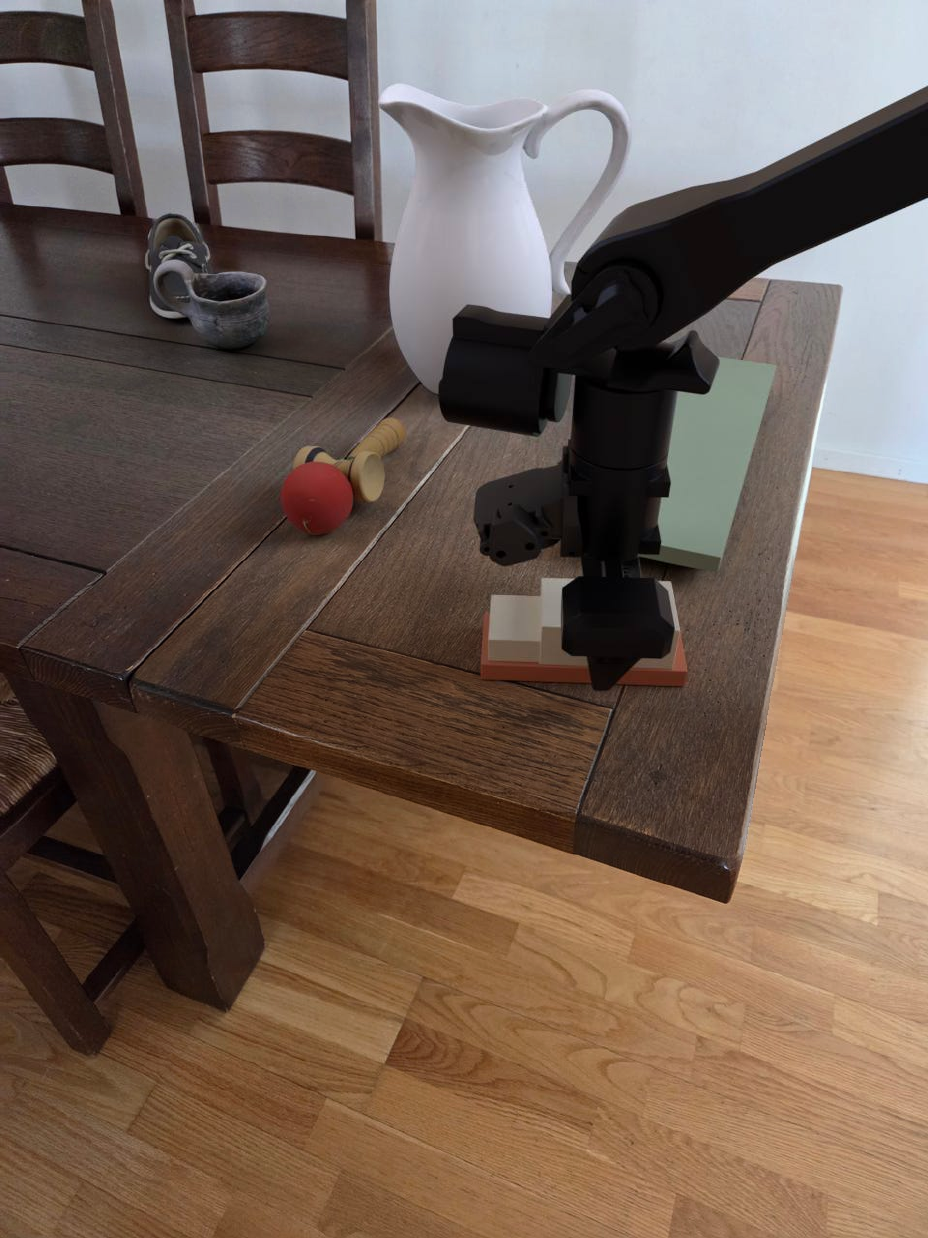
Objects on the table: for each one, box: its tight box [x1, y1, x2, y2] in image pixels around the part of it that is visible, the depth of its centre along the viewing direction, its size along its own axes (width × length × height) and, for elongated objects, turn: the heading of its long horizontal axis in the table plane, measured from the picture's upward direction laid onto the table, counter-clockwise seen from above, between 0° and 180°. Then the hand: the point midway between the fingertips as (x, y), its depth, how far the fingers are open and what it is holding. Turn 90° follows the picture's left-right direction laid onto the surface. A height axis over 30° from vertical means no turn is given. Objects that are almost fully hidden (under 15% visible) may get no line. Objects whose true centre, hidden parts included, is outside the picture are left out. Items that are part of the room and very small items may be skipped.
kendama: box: [280, 417, 407, 536], centre depth 77 cm, size 8×6×18 cm
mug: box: [154, 260, 271, 350], centre depth 100 cm, size 10×12×10 cm
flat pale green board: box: [638, 356, 777, 574], centre depth 80 cm, size 36×11×3 cm, turn 158°
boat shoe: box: [144, 212, 212, 319], centre depth 115 cm, size 25×9×8 cm, turn 13°
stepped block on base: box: [480, 577, 689, 687], centre depth 60 cm, size 14×6×5 cm, turn 86°
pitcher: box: [377, 83, 633, 395], centre depth 87 cm, size 24×17×28 cm
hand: (596, 642), depth 60 cm, fingers open, 9 cm apart
